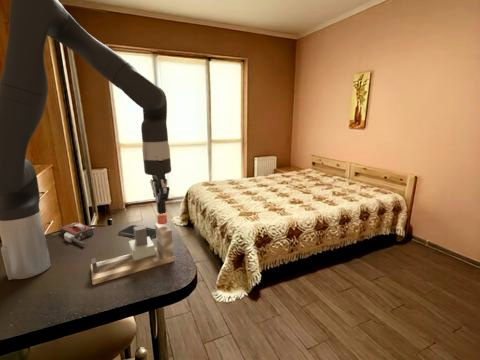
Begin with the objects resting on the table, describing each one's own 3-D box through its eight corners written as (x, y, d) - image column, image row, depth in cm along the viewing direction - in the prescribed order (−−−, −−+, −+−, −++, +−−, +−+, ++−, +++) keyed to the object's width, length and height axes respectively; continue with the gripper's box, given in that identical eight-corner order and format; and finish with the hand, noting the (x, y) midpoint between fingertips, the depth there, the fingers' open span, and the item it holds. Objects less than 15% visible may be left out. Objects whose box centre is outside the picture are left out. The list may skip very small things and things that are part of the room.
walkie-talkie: (53, 236, 97) (81, 249, 87) (51, 225, 96) (79, 237, 86) (77, 227, 105) (106, 239, 94) (76, 217, 104) (104, 228, 93)
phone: (148, 238, 92) (117, 232, 97) (148, 241, 92) (117, 235, 98) (162, 230, 99) (132, 224, 104) (162, 233, 99) (132, 227, 105)
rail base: (92, 284, 68) (87, 250, 65) (91, 268, 75) (86, 237, 73) (174, 260, 79) (172, 230, 77) (166, 248, 86) (163, 221, 84)
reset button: (159, 225, 77) (158, 217, 77) (156, 222, 80) (156, 214, 79) (168, 223, 79) (167, 215, 78) (165, 220, 81) (165, 213, 81)
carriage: (133, 260, 73) (130, 234, 71) (129, 249, 79) (126, 225, 77) (155, 254, 76) (152, 229, 74) (149, 245, 82) (147, 221, 80)
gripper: (138, 155, 78) (144, 209, 82) (148, 161, 67) (154, 222, 71) (163, 153, 82) (167, 204, 86) (176, 158, 71) (180, 217, 75)
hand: (161, 212), depth 79 cm, fingers closed
